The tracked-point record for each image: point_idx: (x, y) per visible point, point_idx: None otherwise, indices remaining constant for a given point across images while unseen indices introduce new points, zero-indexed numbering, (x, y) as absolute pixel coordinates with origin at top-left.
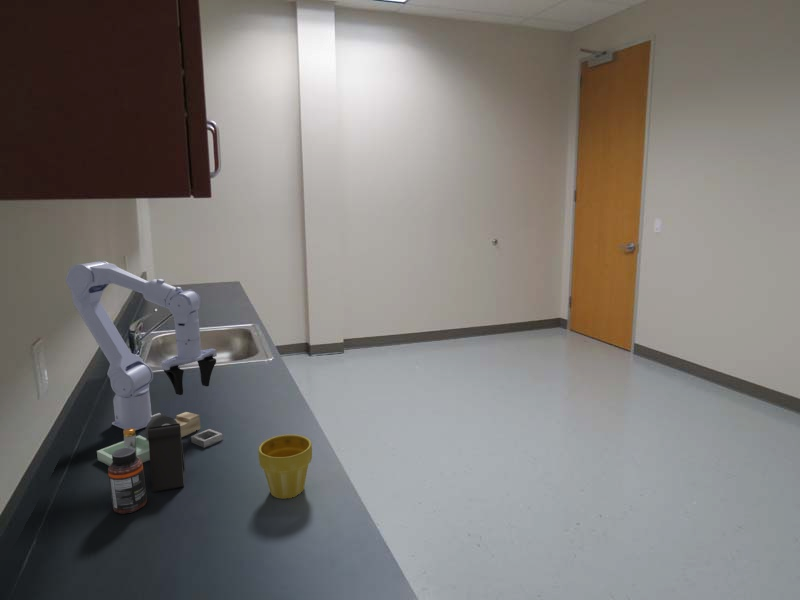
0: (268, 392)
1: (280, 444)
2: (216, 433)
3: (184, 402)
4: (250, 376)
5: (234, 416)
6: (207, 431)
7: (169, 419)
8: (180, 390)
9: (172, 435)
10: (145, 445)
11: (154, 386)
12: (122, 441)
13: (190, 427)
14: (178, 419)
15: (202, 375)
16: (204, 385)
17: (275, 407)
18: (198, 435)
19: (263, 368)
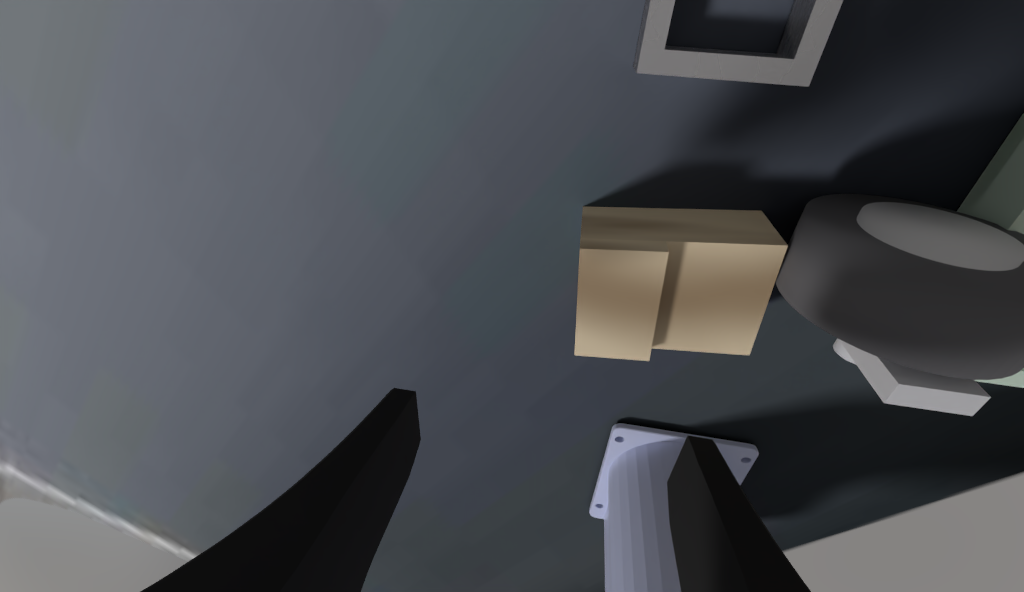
0: (70, 251)
1: None
2: None
3: (416, 463)
4: (102, 427)
5: (351, 165)
6: (675, 50)
7: (936, 275)
8: (734, 481)
9: None
10: None
11: (402, 585)
12: (1012, 385)
13: (658, 224)
14: (655, 330)
15: (376, 523)
16: (417, 418)
17: (83, 29)
18: (759, 57)
19: (34, 435)
